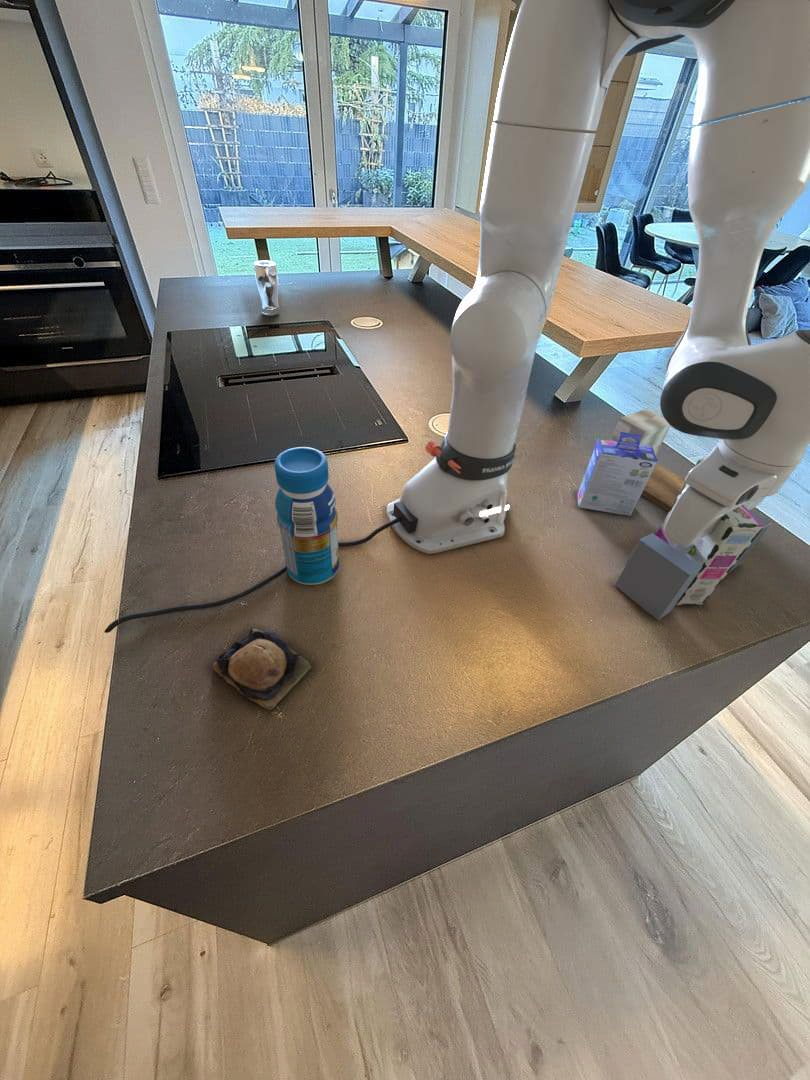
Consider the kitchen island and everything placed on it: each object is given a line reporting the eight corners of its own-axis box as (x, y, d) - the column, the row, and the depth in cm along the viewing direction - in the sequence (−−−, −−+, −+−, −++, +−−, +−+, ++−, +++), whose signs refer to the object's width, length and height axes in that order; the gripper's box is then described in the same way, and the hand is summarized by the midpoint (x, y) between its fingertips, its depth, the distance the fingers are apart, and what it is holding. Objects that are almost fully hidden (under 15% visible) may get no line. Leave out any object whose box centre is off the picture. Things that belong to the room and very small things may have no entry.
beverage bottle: (274, 571, 71) (252, 462, 58) (311, 541, 77) (299, 435, 63) (315, 596, 68) (302, 487, 55) (351, 563, 74) (347, 457, 60)
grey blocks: (657, 620, 69) (689, 575, 62) (614, 585, 73) (639, 539, 66) (737, 566, 78) (772, 522, 71) (694, 538, 83) (723, 494, 76)
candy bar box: (704, 606, 71) (768, 526, 60) (674, 607, 71) (732, 527, 60) (668, 554, 79) (718, 476, 68) (641, 555, 79) (686, 476, 68)
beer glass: (257, 315, 155) (249, 264, 145) (265, 308, 160) (258, 259, 150) (277, 317, 155) (271, 266, 144) (284, 311, 160) (279, 261, 149)
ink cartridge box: (627, 499, 90) (659, 434, 80) (631, 517, 86) (666, 450, 76) (576, 491, 91) (601, 425, 81) (578, 508, 87) (605, 441, 77)
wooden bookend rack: (695, 528, 85) (727, 479, 77) (597, 466, 99) (616, 418, 91) (727, 510, 90) (761, 461, 82) (629, 453, 103) (650, 406, 96)
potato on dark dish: (315, 666, 60) (313, 650, 57) (267, 716, 55) (262, 701, 52) (258, 625, 64) (253, 609, 61) (207, 669, 59) (200, 652, 56)
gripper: (764, 436, 66) (714, 510, 76) (681, 475, 58) (636, 553, 67) (810, 457, 63) (752, 532, 72) (729, 502, 54) (675, 581, 63)
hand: (696, 543), depth 69 cm, fingers closed on candy bar box, 6 cm apart
